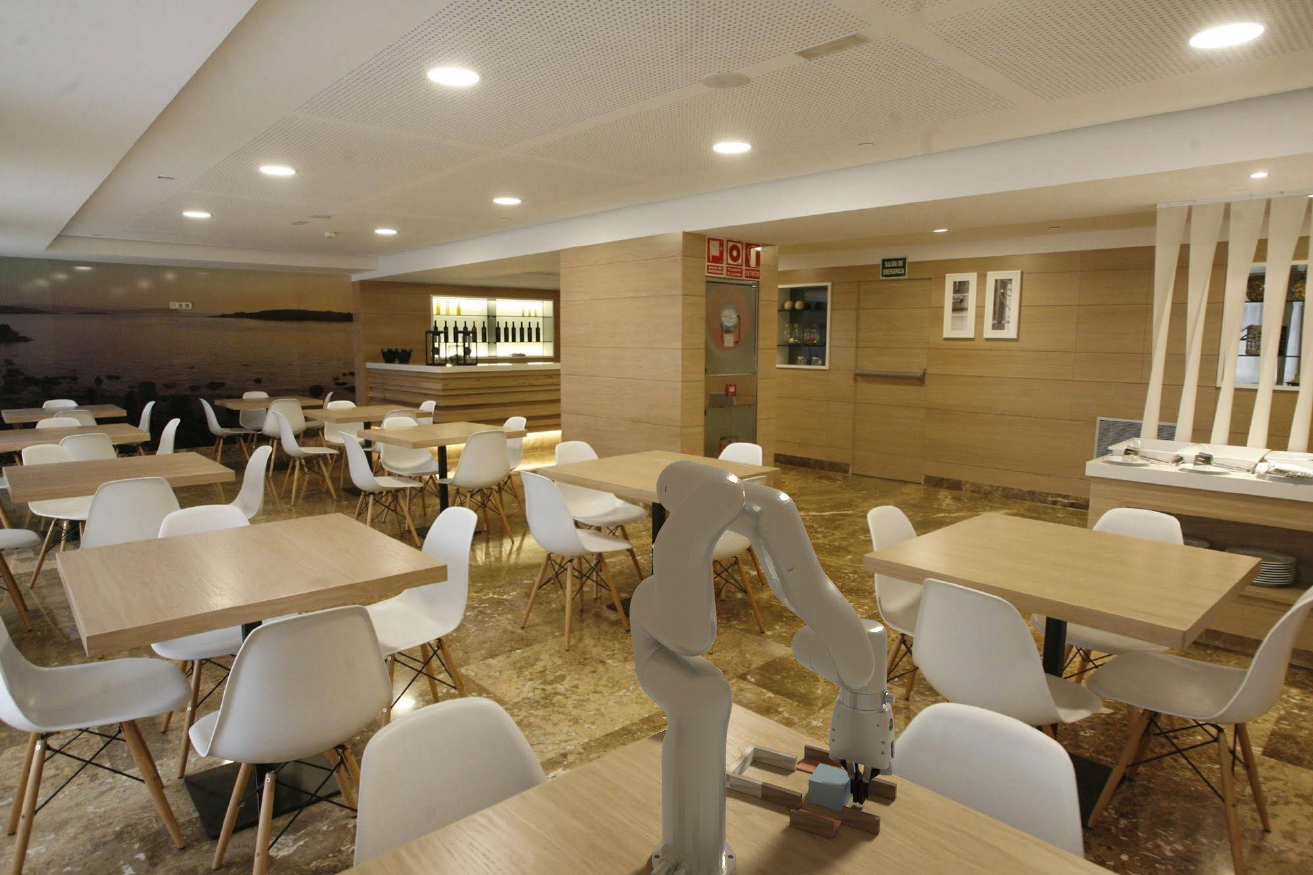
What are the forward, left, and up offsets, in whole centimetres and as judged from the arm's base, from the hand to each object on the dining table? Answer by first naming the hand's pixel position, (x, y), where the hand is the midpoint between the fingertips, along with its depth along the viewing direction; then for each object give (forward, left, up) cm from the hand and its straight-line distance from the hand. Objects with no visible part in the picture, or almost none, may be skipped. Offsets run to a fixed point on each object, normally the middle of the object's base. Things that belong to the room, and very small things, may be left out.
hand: (860, 799), depth 128 cm
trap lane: (0, +9, -1) cm, 9 cm away
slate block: (0, +5, -1) cm, 5 cm away
